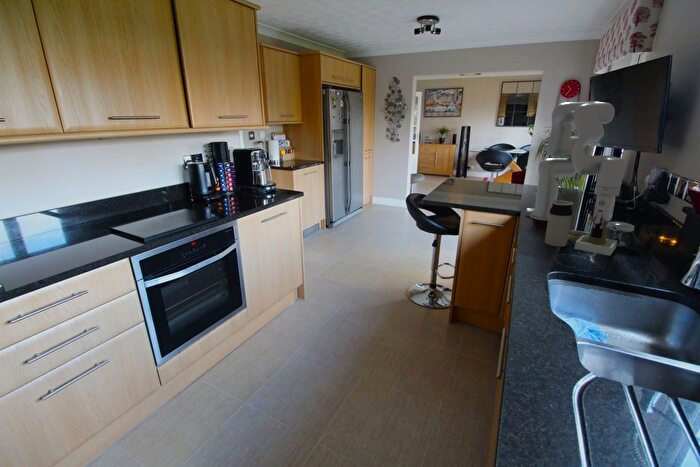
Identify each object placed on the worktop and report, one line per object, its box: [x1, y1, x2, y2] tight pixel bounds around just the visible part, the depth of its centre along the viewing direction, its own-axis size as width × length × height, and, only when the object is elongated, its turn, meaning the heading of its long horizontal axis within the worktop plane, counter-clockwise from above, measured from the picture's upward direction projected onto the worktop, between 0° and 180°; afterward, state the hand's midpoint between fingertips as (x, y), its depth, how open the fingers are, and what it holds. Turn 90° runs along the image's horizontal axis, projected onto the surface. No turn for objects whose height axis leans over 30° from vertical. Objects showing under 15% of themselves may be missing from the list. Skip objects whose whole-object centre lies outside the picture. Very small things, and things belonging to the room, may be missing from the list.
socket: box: [567, 229, 590, 242], centre depth 144 cm, size 10×10×2 cm
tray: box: [574, 235, 617, 256], centre depth 132 cm, size 12×12×3 cm
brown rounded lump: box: [587, 219, 610, 245], centre depth 130 cm, size 6×6×11 cm
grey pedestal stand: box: [606, 221, 635, 248], centre depth 135 cm, size 9×9×9 cm
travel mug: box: [544, 199, 574, 248], centre depth 136 cm, size 8×8×18 cm
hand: (597, 235), depth 131 cm, fingers closed on brown rounded lump, 4 cm apart
